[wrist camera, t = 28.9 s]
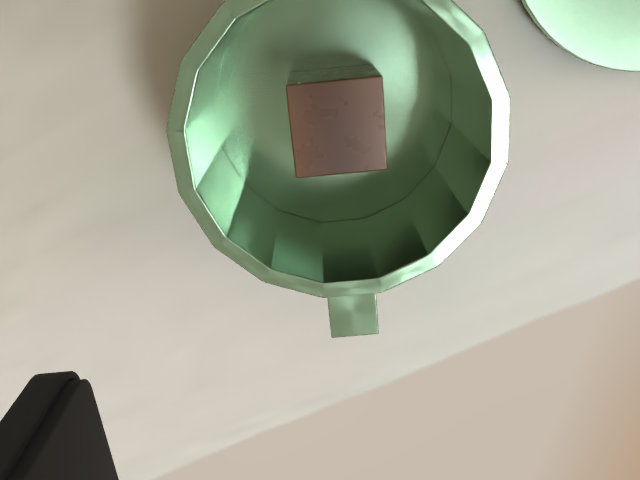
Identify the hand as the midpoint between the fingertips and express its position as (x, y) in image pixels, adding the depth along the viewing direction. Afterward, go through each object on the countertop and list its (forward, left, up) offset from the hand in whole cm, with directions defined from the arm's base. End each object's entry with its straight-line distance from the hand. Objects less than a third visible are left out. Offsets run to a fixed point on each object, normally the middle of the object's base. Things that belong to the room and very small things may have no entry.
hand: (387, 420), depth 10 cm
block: (0, 0, -26) cm, 26 cm away
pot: (0, 0, -26) cm, 26 cm away
